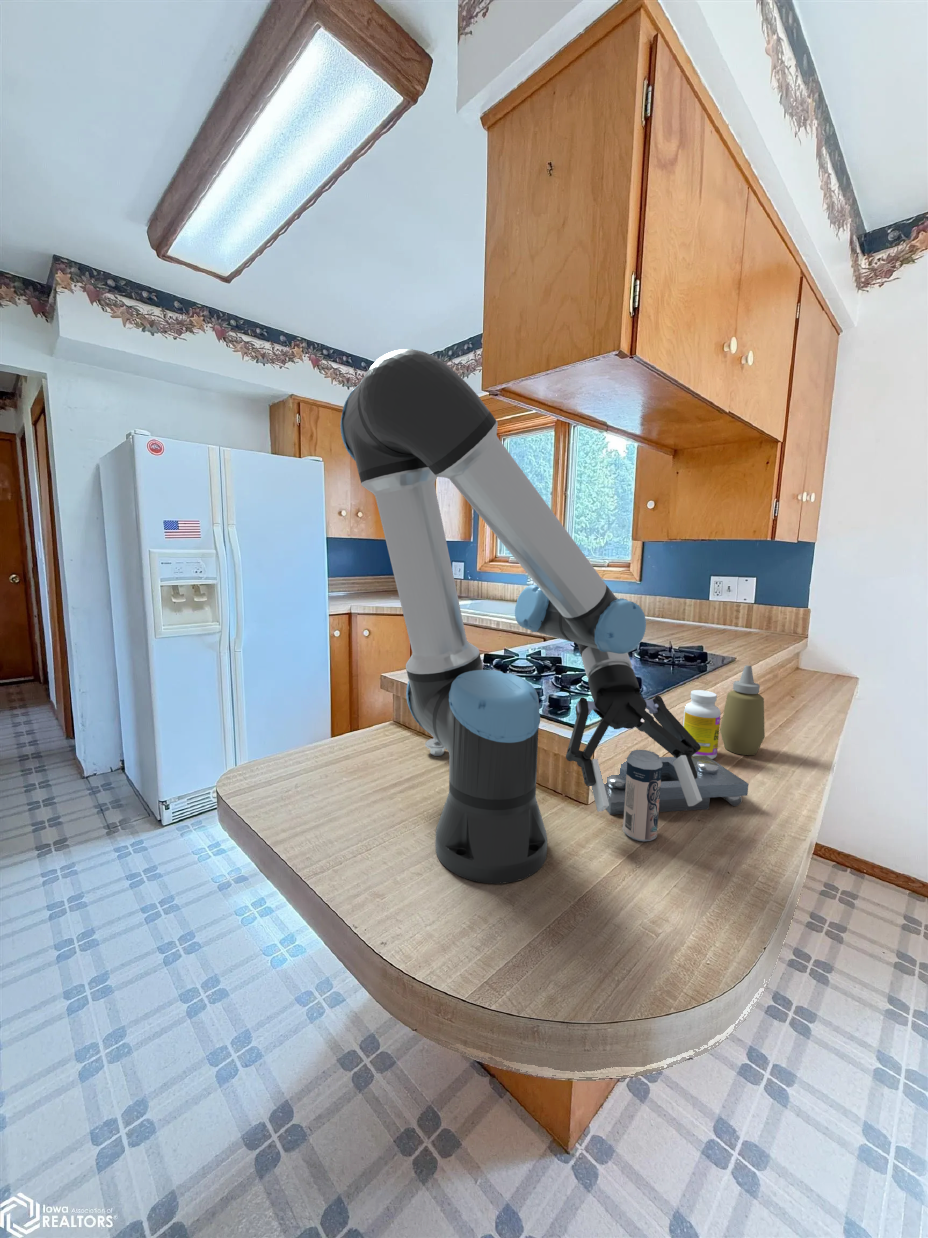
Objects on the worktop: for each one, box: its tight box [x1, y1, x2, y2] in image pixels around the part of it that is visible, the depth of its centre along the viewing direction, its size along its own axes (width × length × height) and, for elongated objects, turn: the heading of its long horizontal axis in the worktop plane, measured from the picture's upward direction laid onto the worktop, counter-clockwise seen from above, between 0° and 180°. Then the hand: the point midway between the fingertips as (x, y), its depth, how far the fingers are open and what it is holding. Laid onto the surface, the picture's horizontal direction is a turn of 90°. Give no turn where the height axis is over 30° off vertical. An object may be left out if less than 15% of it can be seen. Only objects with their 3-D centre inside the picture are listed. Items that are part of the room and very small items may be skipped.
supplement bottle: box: [682, 689, 722, 760], centre depth 98 cm, size 7×7×13 cm
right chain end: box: [619, 755, 749, 807], centre depth 82 cm, size 18×11×5 cm, turn 97°
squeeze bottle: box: [719, 665, 765, 756], centre depth 100 cm, size 8×8×18 cm
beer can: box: [622, 749, 663, 842], centre depth 69 cm, size 5×5×12 cm
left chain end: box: [604, 773, 711, 815], centre depth 81 cm, size 16×11×3 cm, turn 97°
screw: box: [424, 737, 447, 757], centre depth 96 cm, size 13×5×5 cm
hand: (650, 806), depth 67 cm, fingers open, 13 cm apart
